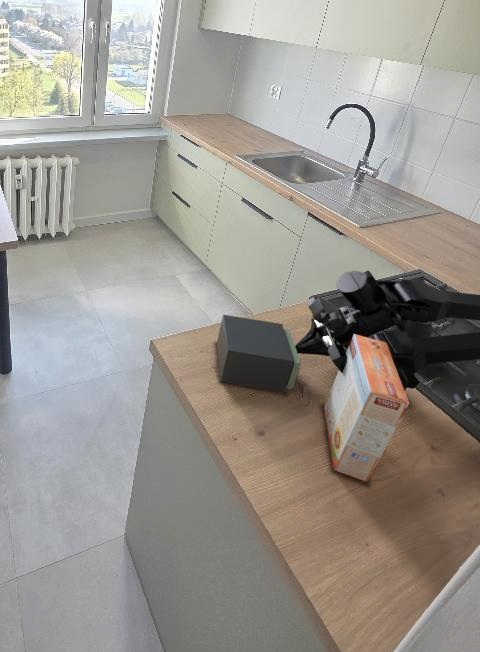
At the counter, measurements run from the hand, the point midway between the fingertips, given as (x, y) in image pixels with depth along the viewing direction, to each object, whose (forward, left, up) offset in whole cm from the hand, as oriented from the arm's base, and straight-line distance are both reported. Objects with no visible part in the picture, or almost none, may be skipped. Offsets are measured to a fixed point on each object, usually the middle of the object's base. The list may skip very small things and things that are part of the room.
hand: (294, 350), depth 92 cm
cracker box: (-16, -4, -7) cm, 18 cm away
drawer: (+1, +6, -6) cm, 9 cm away
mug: (+7, -34, -7) cm, 35 cm away
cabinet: (+2, +8, -7) cm, 11 cm away
